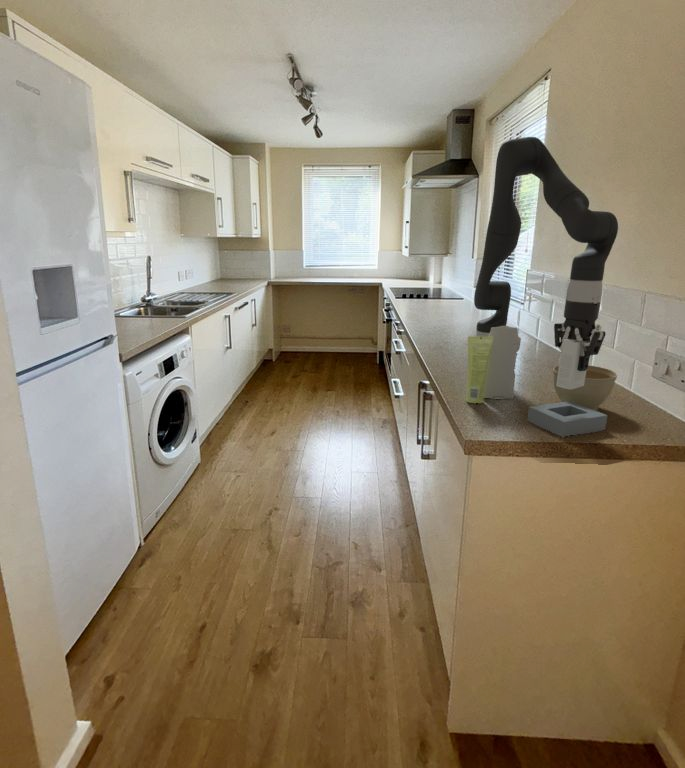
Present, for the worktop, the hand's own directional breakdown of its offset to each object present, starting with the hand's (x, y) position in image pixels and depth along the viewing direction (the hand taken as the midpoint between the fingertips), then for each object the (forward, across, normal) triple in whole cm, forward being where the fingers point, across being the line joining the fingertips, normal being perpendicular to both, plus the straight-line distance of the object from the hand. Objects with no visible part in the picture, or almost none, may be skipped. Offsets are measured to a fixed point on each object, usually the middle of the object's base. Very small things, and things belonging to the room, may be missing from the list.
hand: (573, 367), depth 122 cm
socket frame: (+15, 0, 0) cm, 15 cm away
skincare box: (+5, 0, 0) cm, 5 cm away
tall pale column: (+16, -25, -2) cm, 30 cm away
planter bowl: (+16, -10, +15) cm, 24 cm away
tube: (+16, -24, -10) cm, 31 cm away
